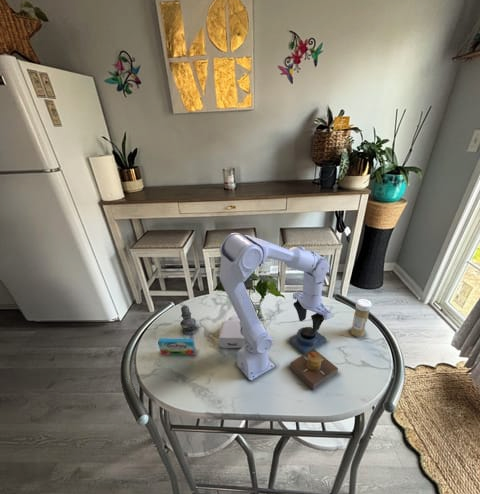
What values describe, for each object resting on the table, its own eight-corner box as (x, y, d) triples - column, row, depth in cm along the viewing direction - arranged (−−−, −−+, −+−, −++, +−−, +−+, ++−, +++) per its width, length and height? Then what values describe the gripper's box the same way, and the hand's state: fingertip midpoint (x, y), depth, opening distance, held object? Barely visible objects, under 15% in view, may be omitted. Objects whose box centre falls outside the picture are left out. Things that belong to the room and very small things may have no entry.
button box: (304, 354, 90) (305, 347, 88) (289, 341, 95) (289, 334, 93) (325, 341, 94) (326, 334, 92) (310, 330, 100) (310, 322, 98)
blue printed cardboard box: (196, 352, 94) (193, 338, 91) (195, 355, 93) (192, 342, 89) (162, 351, 95) (158, 338, 92) (161, 354, 94) (157, 341, 91)
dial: (323, 366, 82) (324, 357, 80) (313, 372, 80) (314, 363, 78) (313, 358, 85) (314, 349, 83) (304, 364, 83) (305, 355, 81)
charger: (248, 320, 106) (246, 348, 94) (225, 320, 107) (219, 347, 95) (248, 310, 104) (245, 338, 91) (224, 310, 105) (218, 337, 92)
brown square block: (313, 390, 78) (313, 384, 77) (289, 368, 86) (290, 362, 84) (337, 373, 83) (338, 368, 81) (313, 354, 90) (313, 348, 88)
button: (307, 341, 90) (308, 337, 90) (298, 334, 94) (298, 330, 93) (317, 336, 92) (317, 332, 91) (308, 329, 96) (308, 325, 95)
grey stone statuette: (200, 330, 103) (195, 305, 97) (185, 337, 101) (179, 311, 94) (193, 322, 107) (188, 297, 101) (179, 328, 105) (173, 303, 98)
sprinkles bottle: (367, 334, 96) (374, 303, 88) (357, 339, 94) (364, 308, 87) (357, 327, 99) (363, 296, 92) (347, 331, 98) (353, 301, 90)
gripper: (340, 296, 80) (334, 331, 87) (304, 277, 90) (302, 309, 97) (323, 305, 77) (318, 341, 84) (288, 284, 87) (287, 317, 94)
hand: (308, 324), depth 91 cm, fingers open, 6 cm apart
